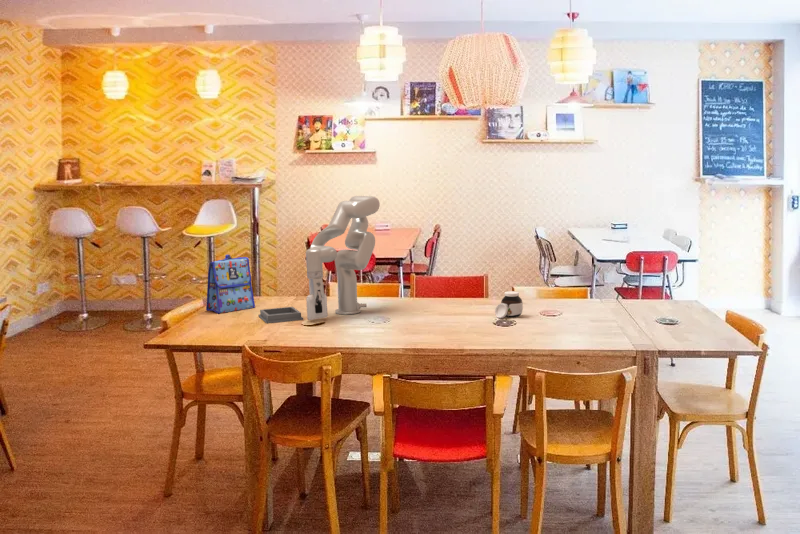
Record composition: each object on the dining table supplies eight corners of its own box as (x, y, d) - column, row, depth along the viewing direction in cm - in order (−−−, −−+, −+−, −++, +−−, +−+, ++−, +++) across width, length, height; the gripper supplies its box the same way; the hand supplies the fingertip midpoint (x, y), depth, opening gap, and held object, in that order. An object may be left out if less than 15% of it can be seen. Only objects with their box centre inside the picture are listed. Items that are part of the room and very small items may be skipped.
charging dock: (293, 313, 432) (293, 306, 431) (303, 319, 415) (303, 312, 414) (258, 316, 425) (258, 309, 424) (266, 323, 408) (266, 316, 408)
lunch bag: (218, 314, 433) (215, 257, 428) (205, 310, 443) (202, 255, 438) (255, 308, 447) (253, 253, 442) (242, 304, 457) (239, 250, 452)
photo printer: (324, 315, 417) (323, 290, 415) (329, 317, 414) (327, 292, 412) (306, 319, 412) (304, 294, 410) (310, 320, 408) (308, 295, 406)
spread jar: (524, 315, 415) (524, 291, 413) (517, 320, 404) (517, 295, 403) (500, 313, 420) (500, 290, 418) (493, 318, 409) (492, 294, 408)
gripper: (327, 276, 403) (330, 314, 406) (317, 270, 418) (319, 307, 421) (312, 278, 400) (314, 316, 403) (302, 272, 415) (305, 309, 419)
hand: (317, 311), depth 412 cm, fingers closed on photo printer, 4 cm apart
